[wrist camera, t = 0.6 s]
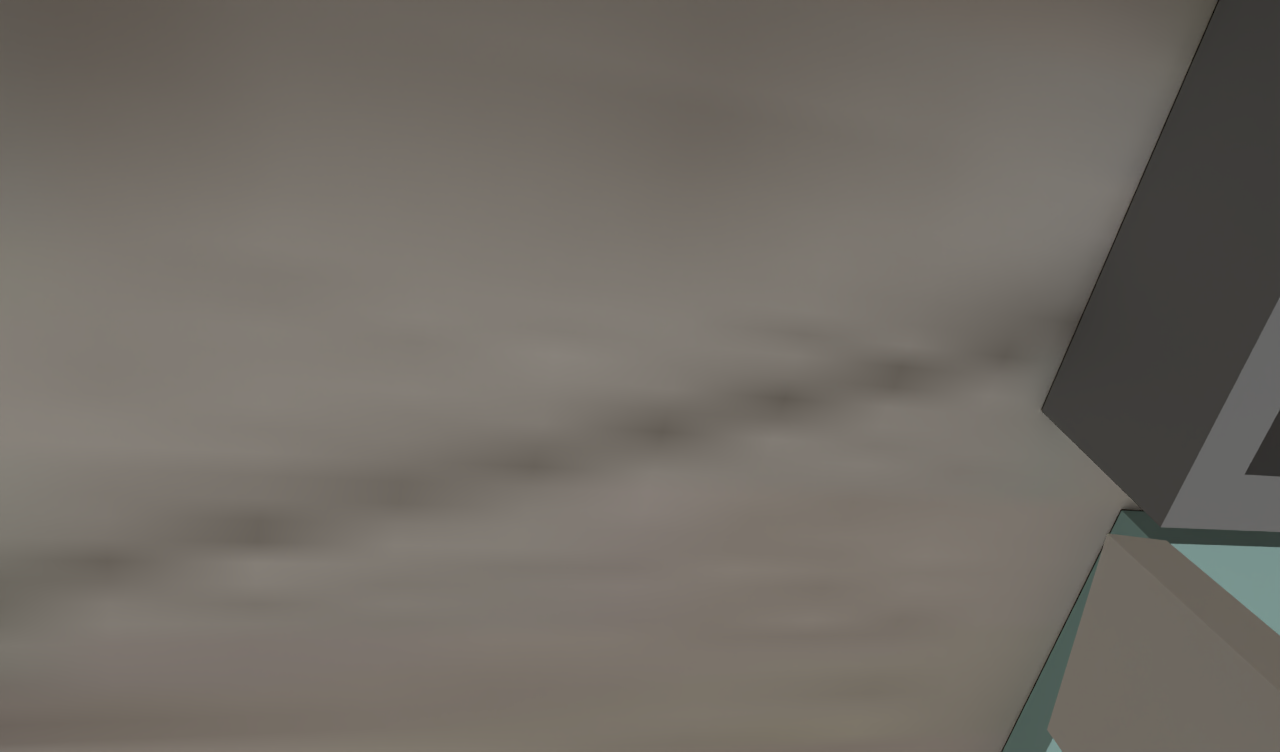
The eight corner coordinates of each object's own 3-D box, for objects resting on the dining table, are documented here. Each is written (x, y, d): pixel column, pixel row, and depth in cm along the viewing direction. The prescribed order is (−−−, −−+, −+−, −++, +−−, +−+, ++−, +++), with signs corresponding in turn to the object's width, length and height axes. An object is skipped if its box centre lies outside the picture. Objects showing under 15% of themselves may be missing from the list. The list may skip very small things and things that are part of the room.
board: (1121, 510, 31) (1154, 542, 30) (1434, 524, 35) (1475, 553, 34) (976, 804, 37) (998, 842, 36) (1260, 790, 40) (1290, 824, 39)
